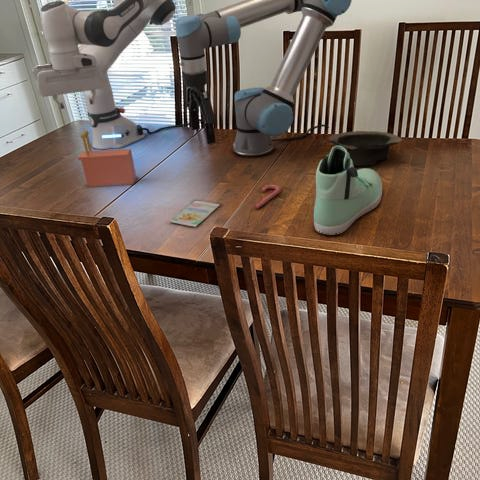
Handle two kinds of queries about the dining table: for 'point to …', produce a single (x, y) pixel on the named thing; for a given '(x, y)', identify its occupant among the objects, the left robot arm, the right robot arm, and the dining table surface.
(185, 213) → the baking ingredient package
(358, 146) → the dark brown hat
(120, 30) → the left robot arm
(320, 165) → the sneaker
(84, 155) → the block with yellow handle
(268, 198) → the candy cane
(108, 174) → the open box
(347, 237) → the dining table surface
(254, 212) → the dining table surface
